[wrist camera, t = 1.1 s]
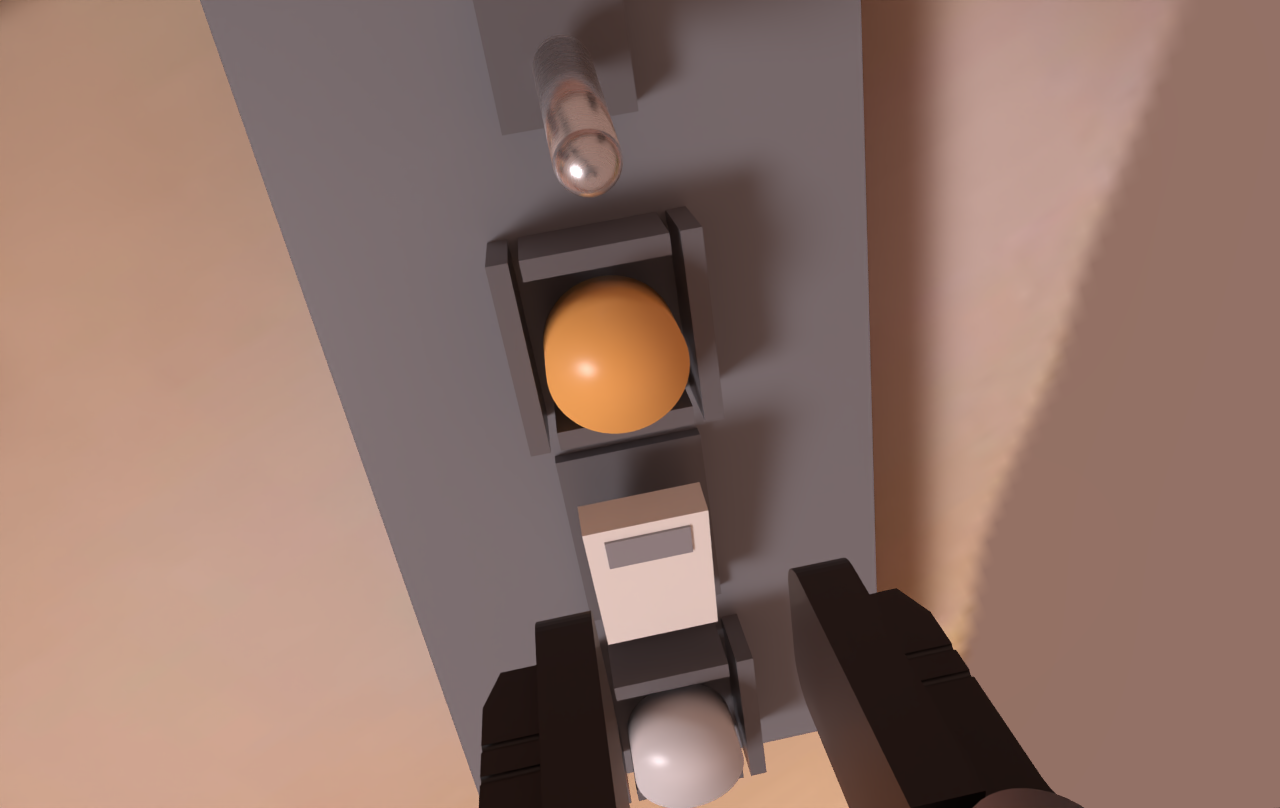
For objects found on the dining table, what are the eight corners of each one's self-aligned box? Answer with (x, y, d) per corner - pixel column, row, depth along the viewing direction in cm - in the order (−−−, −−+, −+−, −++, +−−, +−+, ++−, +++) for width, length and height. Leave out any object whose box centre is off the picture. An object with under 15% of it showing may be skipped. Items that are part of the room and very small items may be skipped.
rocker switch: (577, 506, 22) (582, 538, 21) (699, 481, 22) (709, 512, 21) (603, 616, 25) (608, 647, 24) (709, 593, 25) (718, 623, 24)
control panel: (208, -100, 19) (118, -125, 15) (808, -196, 20) (894, -248, 16) (484, 736, 31) (480, 859, 27) (849, 656, 32) (903, 763, 28)
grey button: (619, 696, 25) (627, 743, 24) (724, 673, 26) (738, 719, 24) (635, 768, 27) (644, 818, 25) (734, 747, 27) (748, 795, 25)
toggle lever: (524, 29, 17) (550, 154, 14) (584, 19, 17) (625, 141, 14) (535, 87, 18) (562, 217, 14) (592, 77, 18) (631, 204, 14)
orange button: (530, 289, 20) (532, 316, 18) (666, 263, 20) (680, 287, 18) (557, 410, 21) (561, 445, 19) (683, 385, 21) (697, 418, 20)
